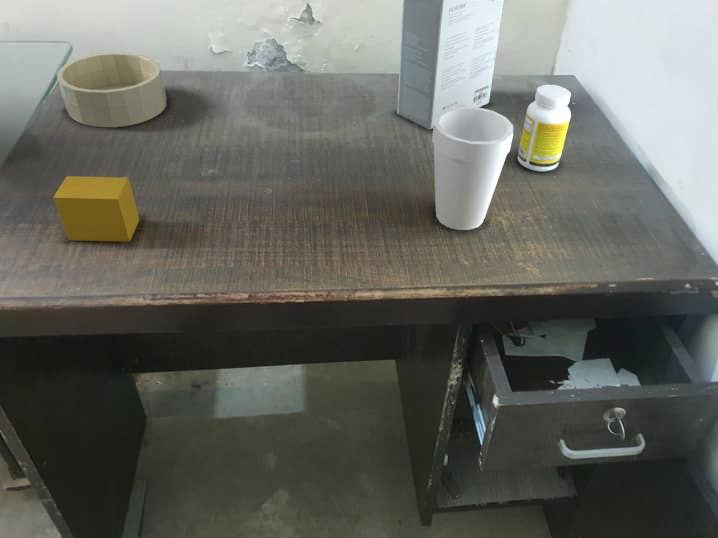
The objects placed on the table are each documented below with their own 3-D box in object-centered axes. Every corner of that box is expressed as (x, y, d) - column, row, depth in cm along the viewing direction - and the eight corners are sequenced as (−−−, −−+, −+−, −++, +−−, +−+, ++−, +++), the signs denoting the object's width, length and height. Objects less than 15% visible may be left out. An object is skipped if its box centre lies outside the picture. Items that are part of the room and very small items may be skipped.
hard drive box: (455, 88, 112) (471, -34, 99) (489, 104, 108) (511, -22, 95) (394, 114, 103) (402, -17, 90) (429, 131, 100) (443, -3, 86)
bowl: (54, 126, 94) (43, 90, 90) (82, 84, 104) (73, 51, 101) (157, 128, 95) (149, 93, 91) (174, 86, 106) (168, 53, 102)
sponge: (68, 240, 74) (52, 197, 70) (81, 218, 78) (66, 175, 73) (130, 241, 75) (117, 199, 71) (139, 219, 78) (128, 177, 74)
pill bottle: (565, 163, 95) (585, 92, 88) (543, 177, 91) (561, 105, 84) (531, 147, 98) (547, 78, 90) (508, 161, 94) (522, 90, 87)
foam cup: (414, 200, 85) (423, 109, 76) (477, 192, 87) (492, 103, 79) (439, 242, 78) (452, 148, 70) (507, 232, 81) (527, 140, 72)
